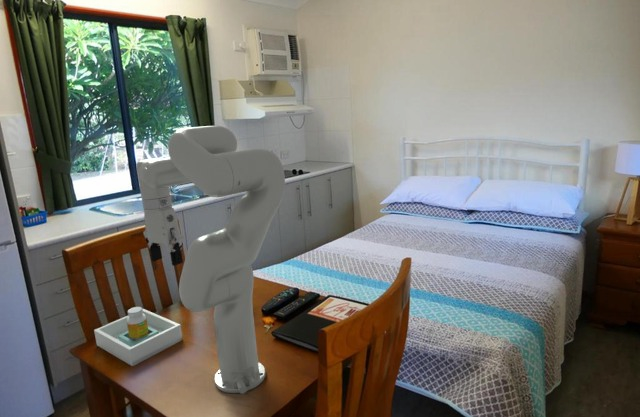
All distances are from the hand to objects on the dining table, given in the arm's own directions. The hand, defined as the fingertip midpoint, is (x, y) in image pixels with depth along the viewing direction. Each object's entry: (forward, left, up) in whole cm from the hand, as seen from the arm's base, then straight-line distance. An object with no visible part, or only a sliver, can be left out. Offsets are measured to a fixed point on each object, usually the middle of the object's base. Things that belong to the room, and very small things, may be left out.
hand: (167, 262), depth 125 cm
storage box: (+4, +11, -25) cm, 27 cm away
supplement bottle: (+4, +11, -24) cm, 26 cm away
